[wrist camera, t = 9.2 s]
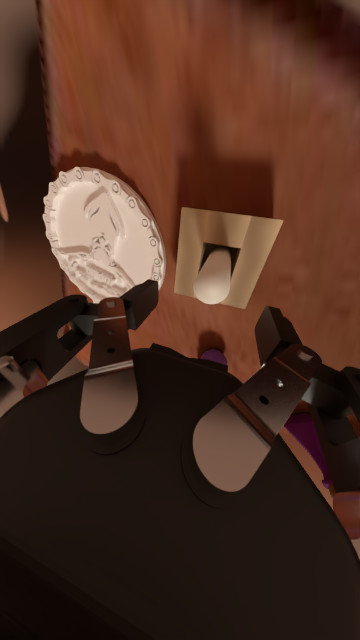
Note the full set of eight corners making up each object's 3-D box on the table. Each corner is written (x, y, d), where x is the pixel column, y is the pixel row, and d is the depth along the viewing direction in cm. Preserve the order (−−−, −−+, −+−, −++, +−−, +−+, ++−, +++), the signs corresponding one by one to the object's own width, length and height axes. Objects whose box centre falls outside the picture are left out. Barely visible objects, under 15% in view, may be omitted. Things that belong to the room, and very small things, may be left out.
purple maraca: (173, 390, 44) (203, 357, 30) (182, 374, 48) (212, 339, 34) (190, 403, 43) (228, 375, 29) (198, 386, 47) (234, 354, 34)
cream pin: (234, 247, 22) (235, 274, 12) (227, 270, 23) (224, 307, 14) (212, 244, 22) (196, 266, 13) (207, 266, 24) (191, 299, 15)
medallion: (187, 215, 22) (183, 215, 20) (145, 331, 39) (141, 337, 37) (43, 136, 22) (25, 129, 20) (63, 288, 38) (55, 292, 37)
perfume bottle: (309, 407, 37) (354, 523, 23) (328, 421, 39) (382, 541, 25) (280, 413, 42) (304, 513, 28) (298, 426, 43) (329, 529, 29)
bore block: (273, 218, 19) (283, 220, 16) (243, 294, 26) (244, 308, 22) (191, 207, 21) (181, 206, 17) (182, 281, 28) (174, 292, 24)
